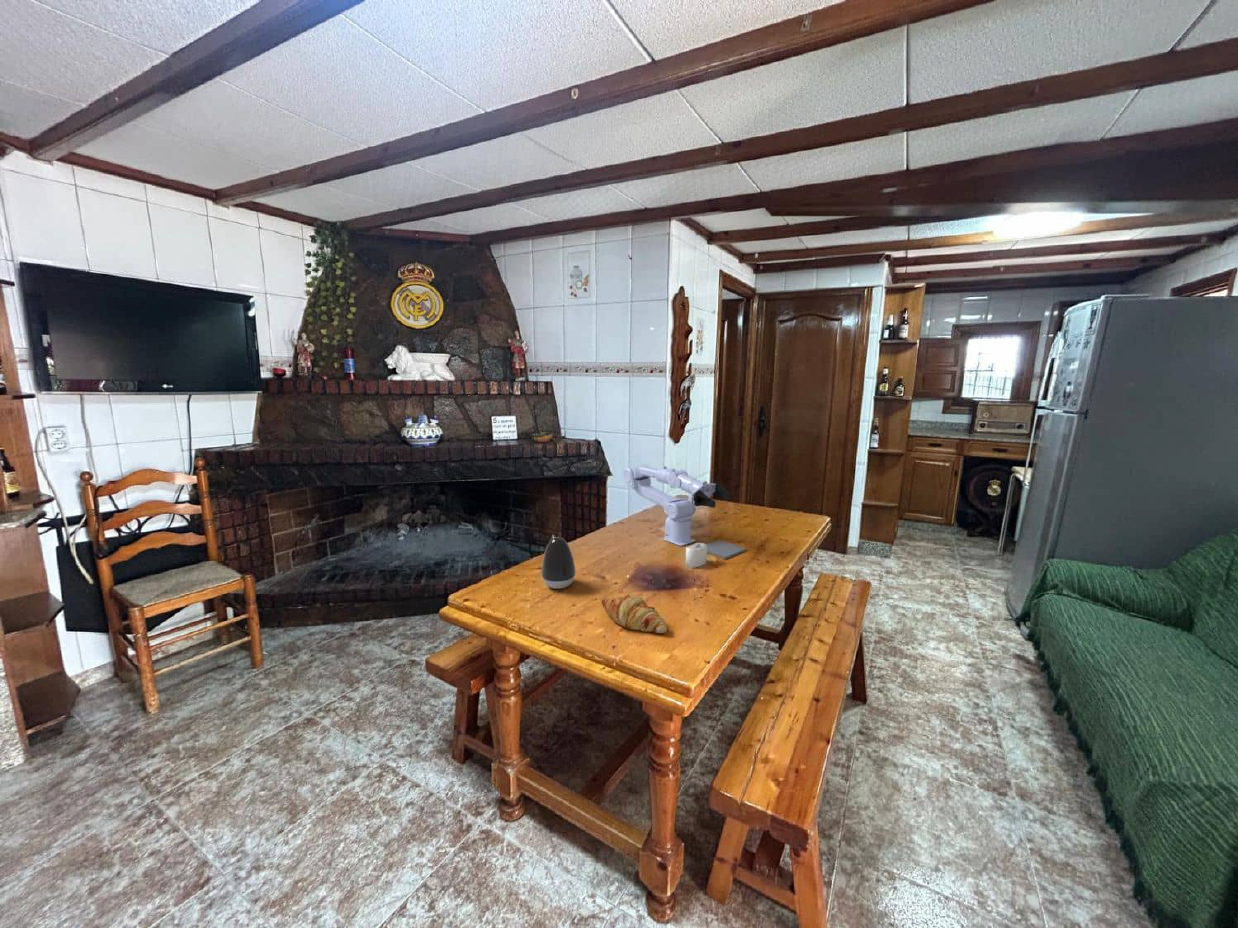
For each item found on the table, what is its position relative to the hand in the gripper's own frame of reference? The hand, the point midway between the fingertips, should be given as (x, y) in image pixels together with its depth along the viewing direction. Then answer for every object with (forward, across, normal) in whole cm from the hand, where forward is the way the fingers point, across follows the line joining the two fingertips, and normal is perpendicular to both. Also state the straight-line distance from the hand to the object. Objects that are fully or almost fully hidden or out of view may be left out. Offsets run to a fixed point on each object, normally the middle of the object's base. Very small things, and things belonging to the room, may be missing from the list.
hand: (722, 501), depth 167 cm
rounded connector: (+2, -13, +18) cm, 23 cm away
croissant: (+19, -52, +10) cm, 56 cm away
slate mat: (-1, +2, +21) cm, 21 cm away
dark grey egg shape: (-11, -58, +14) cm, 60 cm away
